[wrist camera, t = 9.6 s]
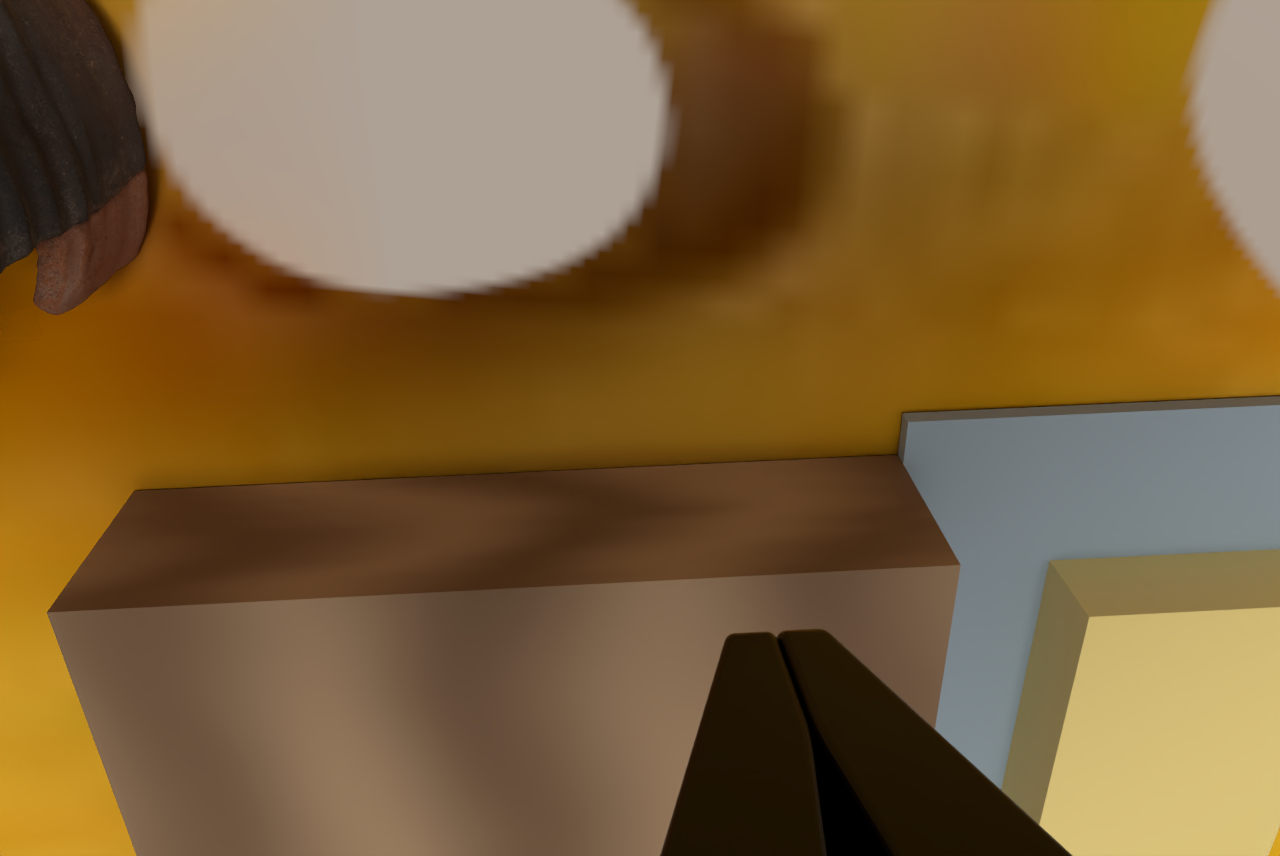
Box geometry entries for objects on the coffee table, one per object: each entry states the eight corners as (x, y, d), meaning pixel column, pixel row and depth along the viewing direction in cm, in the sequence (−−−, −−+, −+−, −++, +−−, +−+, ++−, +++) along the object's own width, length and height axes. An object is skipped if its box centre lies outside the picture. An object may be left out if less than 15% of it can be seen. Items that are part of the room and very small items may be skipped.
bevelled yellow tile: (1089, 616, 21) (1049, 560, 23) (1019, 904, 25) (991, 838, 27) (1369, 602, 21) (1309, 547, 23) (1254, 889, 26) (1210, 824, 27)
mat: (1365, 391, 22) (1378, 400, 21) (1189, 892, 29) (1197, 904, 29) (902, 412, 21) (908, 422, 21) (845, 915, 29) (848, 927, 29)
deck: (897, 454, 22) (960, 565, 18) (847, 891, 28) (886, 1034, 25) (134, 490, 21) (47, 612, 18) (265, 930, 28) (220, 1081, 24)
